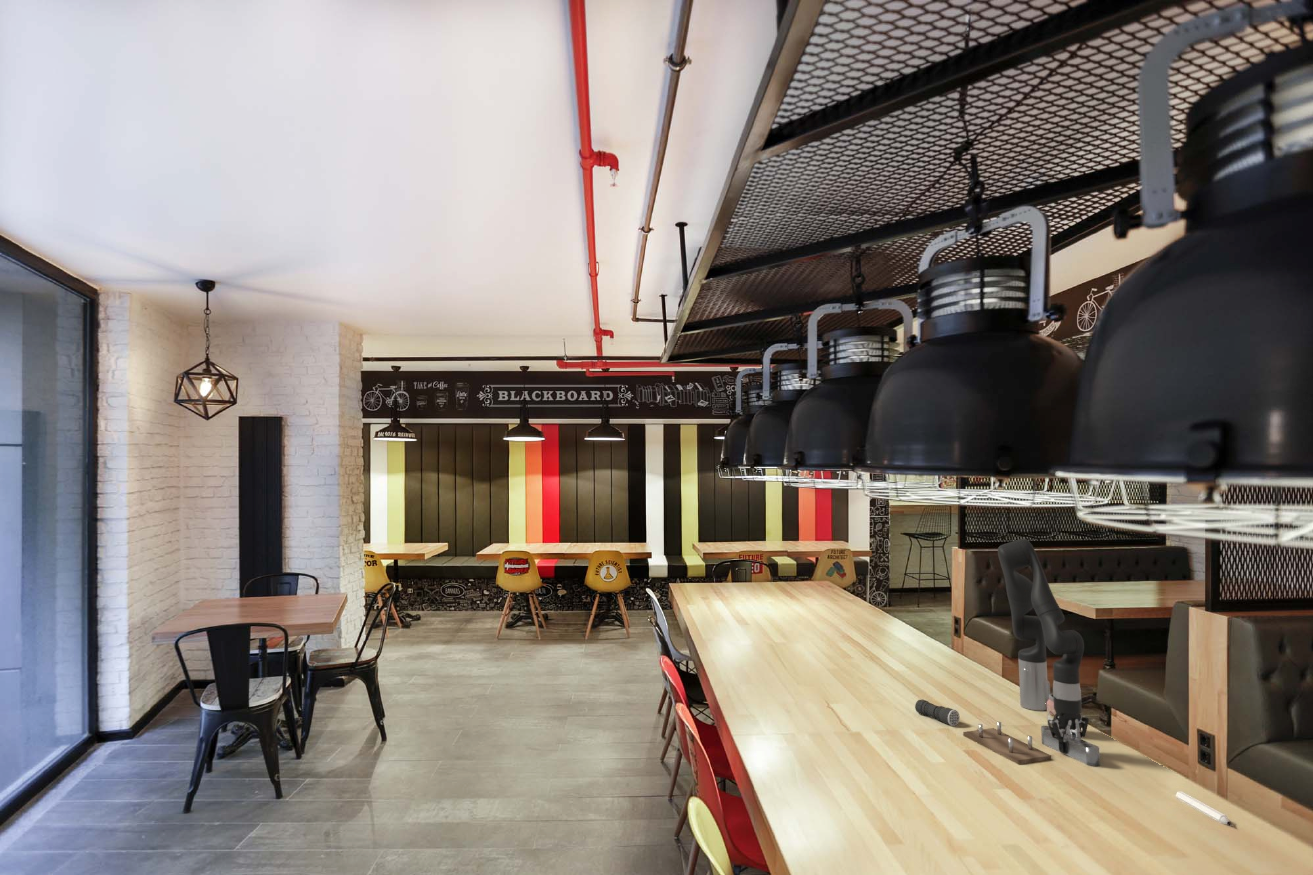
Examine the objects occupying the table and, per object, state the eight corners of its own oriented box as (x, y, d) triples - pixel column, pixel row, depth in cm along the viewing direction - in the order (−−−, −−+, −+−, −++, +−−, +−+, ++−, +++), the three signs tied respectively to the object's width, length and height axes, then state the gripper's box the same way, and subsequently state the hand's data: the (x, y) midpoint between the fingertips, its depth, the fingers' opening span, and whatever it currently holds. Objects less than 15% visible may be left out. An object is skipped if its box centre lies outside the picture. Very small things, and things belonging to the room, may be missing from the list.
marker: (1233, 833, 169) (1178, 801, 185) (1240, 828, 169) (1185, 797, 185) (1228, 823, 169) (1173, 793, 185) (1234, 818, 169) (1180, 788, 185)
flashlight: (913, 714, 252) (913, 699, 253) (924, 711, 255) (923, 696, 255) (949, 727, 239) (948, 711, 239) (959, 724, 241) (959, 708, 242)
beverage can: (1078, 730, 234) (1076, 694, 234) (1081, 739, 226) (1079, 701, 227) (1046, 726, 238) (1045, 691, 238) (1049, 735, 230) (1047, 698, 231)
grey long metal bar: (1049, 740, 225) (1048, 725, 226) (1103, 765, 206) (1102, 748, 206) (1038, 742, 224) (1038, 726, 225) (1092, 767, 205) (1091, 749, 205)
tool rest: (993, 731, 234) (992, 715, 234) (1051, 759, 211) (1050, 741, 211) (963, 735, 231) (962, 719, 231) (1018, 764, 208) (1017, 746, 208)
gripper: (1075, 689, 222) (1077, 744, 221) (1038, 694, 218) (1041, 750, 217) (1095, 697, 214) (1098, 754, 213) (1058, 701, 211) (1060, 759, 210)
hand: (1069, 751), depth 215 cm, fingers closed on grey long metal bar, 4 cm apart
